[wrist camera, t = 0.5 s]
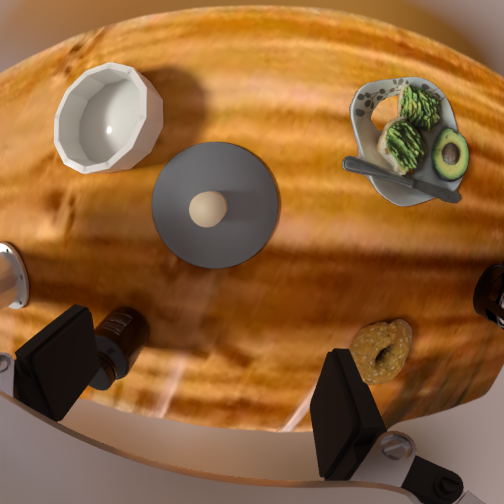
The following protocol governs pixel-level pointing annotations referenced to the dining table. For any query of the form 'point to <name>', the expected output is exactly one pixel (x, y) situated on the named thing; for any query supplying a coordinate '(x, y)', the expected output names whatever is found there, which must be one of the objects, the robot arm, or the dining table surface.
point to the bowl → (108, 120)
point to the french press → (497, 311)
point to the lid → (214, 205)
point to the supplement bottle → (118, 345)
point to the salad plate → (408, 143)
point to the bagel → (390, 359)
